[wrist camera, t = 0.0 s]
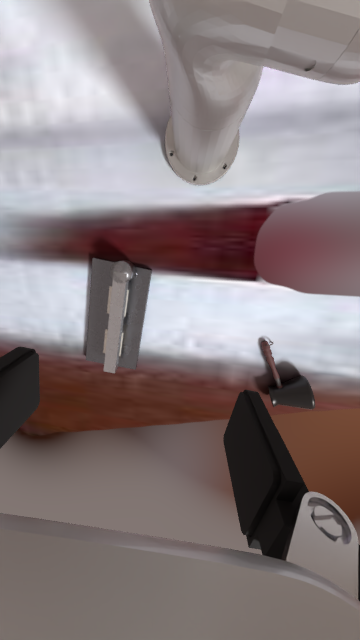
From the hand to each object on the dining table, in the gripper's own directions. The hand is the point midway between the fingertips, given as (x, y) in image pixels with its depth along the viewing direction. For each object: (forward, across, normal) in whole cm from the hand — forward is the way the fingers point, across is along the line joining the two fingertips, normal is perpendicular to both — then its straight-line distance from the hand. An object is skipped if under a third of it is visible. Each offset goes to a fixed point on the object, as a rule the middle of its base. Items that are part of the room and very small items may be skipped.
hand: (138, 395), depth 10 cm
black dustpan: (+37, -30, +16) cm, 51 cm away
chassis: (+37, +11, +11) cm, 40 cm away
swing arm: (+35, +10, +10) cm, 38 cm away
